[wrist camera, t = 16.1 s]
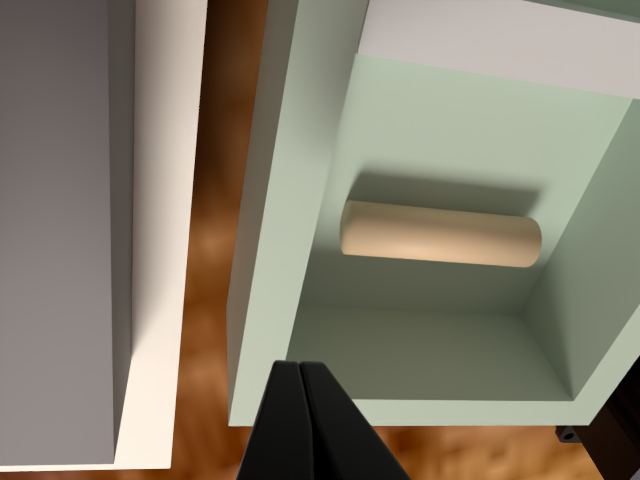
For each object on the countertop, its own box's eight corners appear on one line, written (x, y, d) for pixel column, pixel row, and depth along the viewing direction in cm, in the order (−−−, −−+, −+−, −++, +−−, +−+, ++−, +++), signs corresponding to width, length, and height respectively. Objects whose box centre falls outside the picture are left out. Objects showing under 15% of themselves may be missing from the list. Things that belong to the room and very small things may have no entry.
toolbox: (774, -147, 14) (1000, -143, 10) (523, 322, 23) (588, 425, 19) (307, -289, 11) (359, -363, 7) (226, 308, 20) (228, 425, 16)
